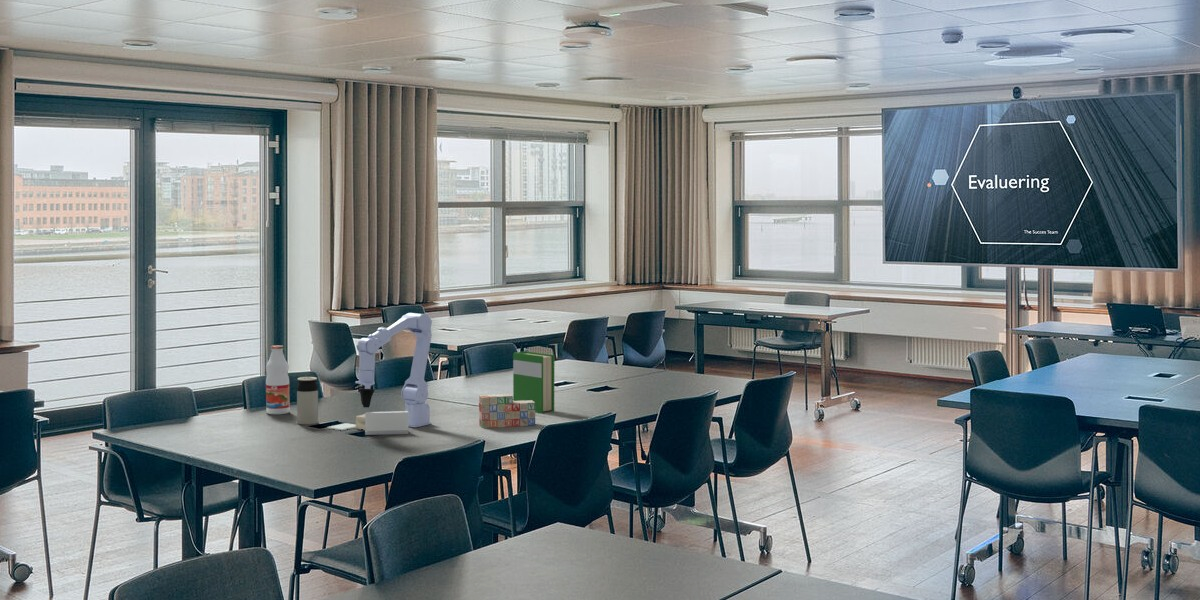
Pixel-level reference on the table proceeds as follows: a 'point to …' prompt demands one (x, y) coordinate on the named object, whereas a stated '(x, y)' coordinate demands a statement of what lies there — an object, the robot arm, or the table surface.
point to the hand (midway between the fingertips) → (365, 406)
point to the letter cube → (360, 422)
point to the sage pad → (342, 426)
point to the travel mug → (307, 401)
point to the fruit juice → (277, 383)
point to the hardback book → (534, 379)
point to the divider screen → (386, 423)
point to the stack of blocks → (505, 411)
